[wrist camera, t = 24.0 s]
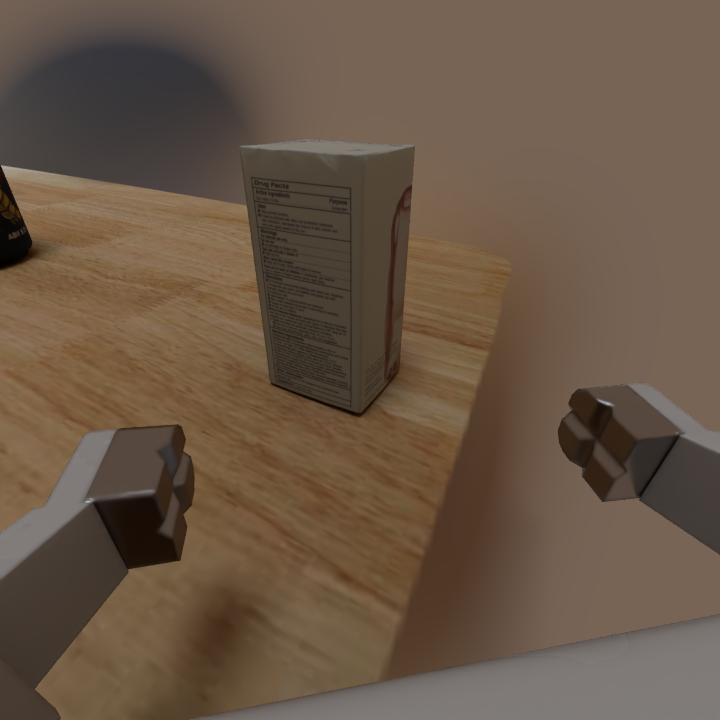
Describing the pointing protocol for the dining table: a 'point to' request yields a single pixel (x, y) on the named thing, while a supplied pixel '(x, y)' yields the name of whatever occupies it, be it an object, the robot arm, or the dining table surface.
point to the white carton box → (330, 262)
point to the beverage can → (11, 227)
